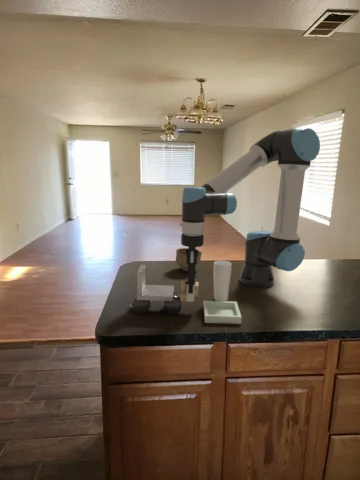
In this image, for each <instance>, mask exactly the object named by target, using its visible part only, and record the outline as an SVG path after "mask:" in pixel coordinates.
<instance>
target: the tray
mask: <svg viewBox="0 0 360 480" xmlns="http://www.w3.org/2000/svg"><path fill="white" fill-rule="evenodd" d="M202 307H203V316H204V319H203V320H204V323H206V324H228V325H229V324H231V325H232V324H233V325H242V319H243V317H242V314H241V311H240V308H239V305H238V301H229V300H227V301H216V300H203V306H202Z"/></svg>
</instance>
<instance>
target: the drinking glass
mask: <svg viewBox="0 0 360 480" xmlns="http://www.w3.org/2000/svg"><path fill="white" fill-rule="evenodd" d="M212 268H213V271H212V272H213V273H212V275H213V278H212V279H213V300H214V301H229V300H228V299H229V290H230V284H231V276H232V262H230V261H229V260H221V259H220V260H215V261H214V262H213V267H212Z"/></svg>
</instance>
